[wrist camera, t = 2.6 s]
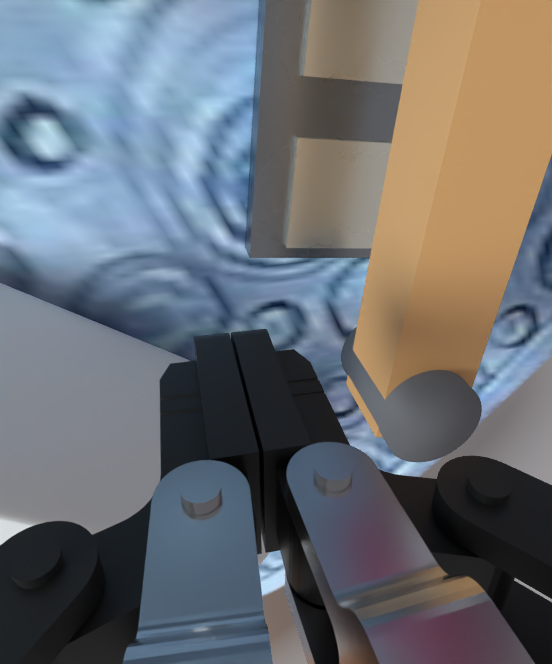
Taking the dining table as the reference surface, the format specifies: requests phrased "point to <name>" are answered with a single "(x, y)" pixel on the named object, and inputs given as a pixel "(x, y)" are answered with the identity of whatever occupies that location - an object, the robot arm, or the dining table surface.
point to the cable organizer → (75, 418)
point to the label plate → (323, 123)
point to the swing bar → (451, 217)
